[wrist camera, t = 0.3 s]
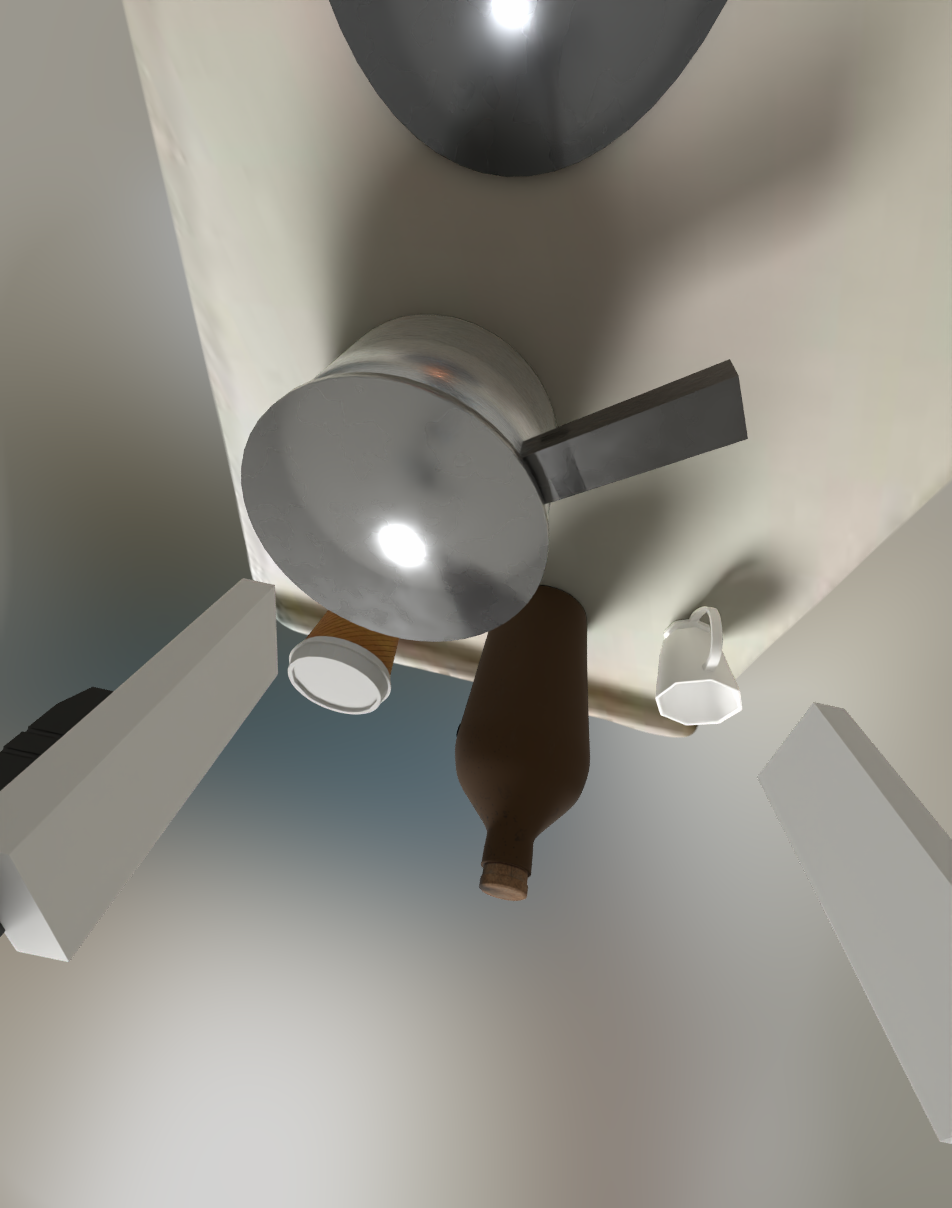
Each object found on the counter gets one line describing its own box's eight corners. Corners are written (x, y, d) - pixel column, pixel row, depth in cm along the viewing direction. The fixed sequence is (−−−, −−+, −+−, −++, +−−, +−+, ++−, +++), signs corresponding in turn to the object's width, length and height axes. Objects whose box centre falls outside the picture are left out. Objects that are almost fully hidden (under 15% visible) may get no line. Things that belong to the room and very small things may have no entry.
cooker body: (671, 138, 23) (708, 146, 15) (730, 465, 34) (770, 576, 25) (275, 382, 36) (176, 459, 27) (408, 563, 46) (365, 658, 38)
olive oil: (566, 565, 43) (539, 863, 25) (609, 639, 48) (611, 924, 31) (468, 596, 48) (391, 861, 31) (518, 660, 54) (476, 914, 36)
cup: (641, 652, 49) (646, 720, 43) (666, 580, 42) (675, 650, 36) (713, 661, 48) (727, 732, 42) (751, 588, 41) (774, 662, 35)
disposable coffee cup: (334, 549, 47) (275, 640, 39) (426, 574, 47) (388, 671, 39) (337, 612, 54) (288, 701, 46) (418, 634, 54) (384, 727, 46)
